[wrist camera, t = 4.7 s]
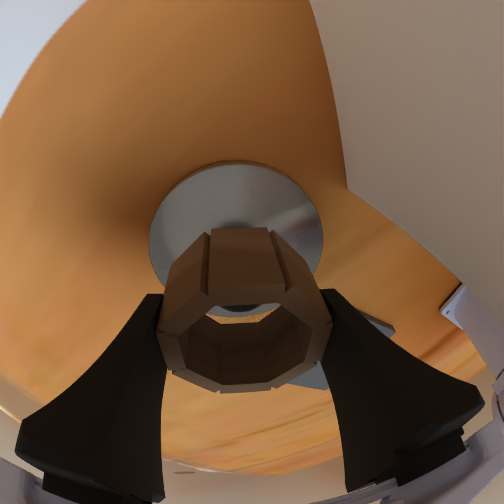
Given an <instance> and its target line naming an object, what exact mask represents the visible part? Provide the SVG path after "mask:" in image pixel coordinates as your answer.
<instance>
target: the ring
mask: <svg viewBox="0 0 504 504" xmlns="http://www.w3.org/2000/svg"><path fill="white" fill-rule="evenodd" d="M270 303H279V304H280V305H281V306H280V307H278V308H277V309H276V310H274V311H273V312H272V313H270V314H269V315H267V316H266V317H265V318H263V319H262V320H261V321H259V322H254V323H235V324H220V323H218V322H216V321H215V320H213V319H212V318H210V317H208V316H207V315H205V314H206V313H207V312H208V311H210V310H211V309H212V308H213V307H215V306H230V305H252V304H270ZM332 327H333V322H332V317H331V315H330V313H329V311H328V308H327V306H326V304H325V302H324V299H323V297H322V295H321V293H320V290H319V288H318V286H317V284H316V282H315V280H314V277H313V275H312V273H311V271H310V269H309V267H308V264H307V262H306V260H305V259H304V258H303V257H301V256H300V255H299V254H298V253H297V252H296V251H295V250H294V249H293V248H292V247H291V246H290V245H289V244H288V243H287V242H286V241H285V240H284V239H283V238H282V237H281V236H279V235H278V234H277V233H276V232H275V231H274V230H272V231H270V232H268V229H267V227H251V228H216V229H211V236H210V235H209V234H207V233H206V232H205V231H204V232H203V233H202V234H201V235H200V236H199V237H198V238H197V239H196V240H195V241H194V242H193V243H192V244H191V245H190V246H189V247H188V248H187V249H186V250H185V251H184V252H183V254H182V255H181V256H180V257H179V258H178V259H177V260H176V261H175V262H174V263H173V264H172V265H171V267H170V270H169V274H168V278H167V282H166V287H165V291H164V298H163V302H162V307H161V312H160V317H159V321H158V325H157V330H156V335H157V338H158V342H159V345H160V348H161V351H162V354H163V357H164V360H165V362H166V365H167V368H168V370H172V374H174V375H176V376H178V377H180V378H182V379H184V380H186V381H189V382H191V383H193V384H195V385H198V386H200V387H202V388H205V389H207V390H209V391H212V392H216V391H218V390H220V393H242V392H256V391H268V390H271V386H272V387H274V388H276V389H277V388H278V387H280V386H282V385H284V384H286V383H288V382H289V381H291V380H293V379H295V378H296V377H298V376H300V375H302V374H303V373H305V372H307V371H308V370H310V369H312V368H313V367H315V366H317V362H318V361H321V360H322V357H323V354H324V351H325V348H326V345H327V342H328V339H329V336H330V333H331V330H332Z"/></svg>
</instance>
